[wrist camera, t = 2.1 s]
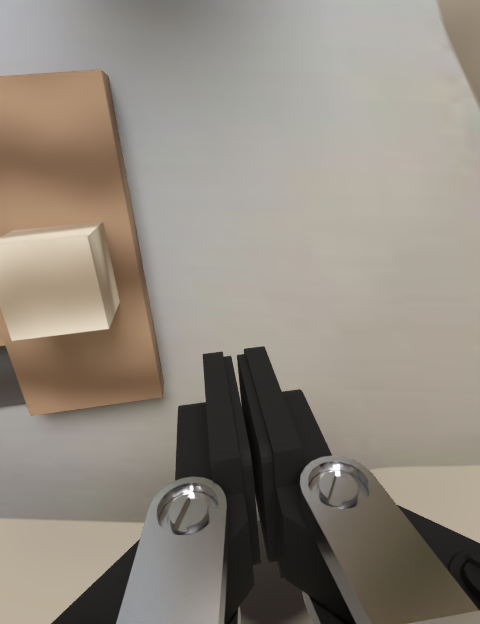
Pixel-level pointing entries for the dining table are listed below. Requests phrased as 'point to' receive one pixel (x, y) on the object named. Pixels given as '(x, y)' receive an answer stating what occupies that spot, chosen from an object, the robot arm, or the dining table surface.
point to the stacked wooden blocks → (69, 211)
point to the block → (56, 281)
